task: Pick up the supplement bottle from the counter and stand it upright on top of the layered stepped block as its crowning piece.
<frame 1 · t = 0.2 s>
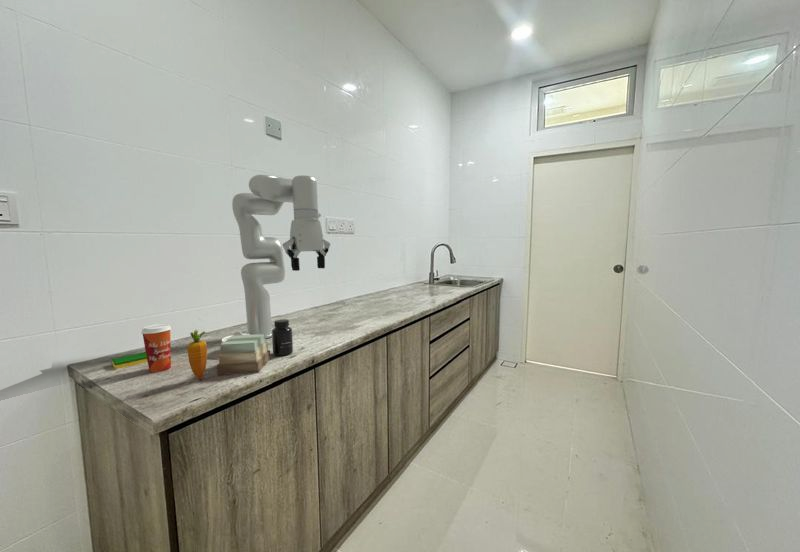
hand: (309, 269, 106), 31 cm above the worktop, tool pointing down, fingers open, 9 cm apart
paper cup: (160, 369, 104), on the worktop
layered stepped block: (245, 366, 105), on the worktop
supplement bottle: (283, 353, 116), on the worktop
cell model: (237, 351, 121), on the worktop
carrot: (200, 380, 95), on the worktop
dish sponge: (140, 362, 112), on the worktop
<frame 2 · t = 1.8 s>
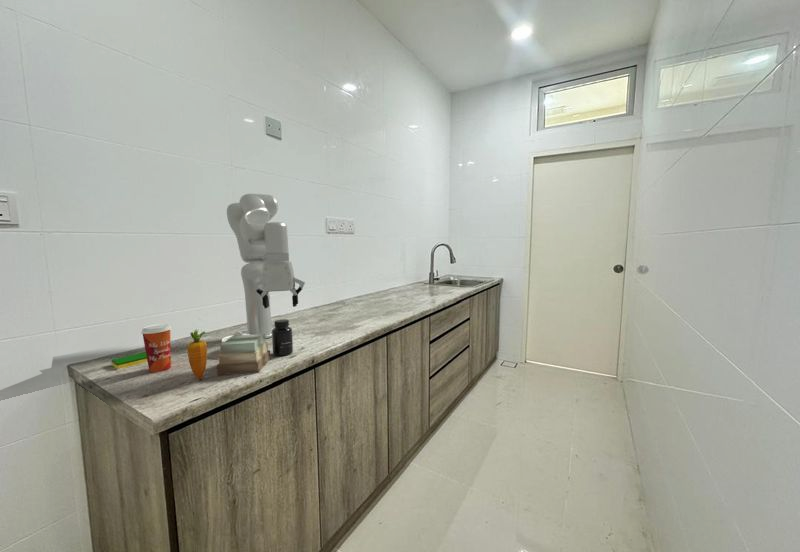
hand: (280, 306, 114), 17 cm above the worktop, tool pointing down, fingers open, 9 cm apart
nothing on the worktop moved.
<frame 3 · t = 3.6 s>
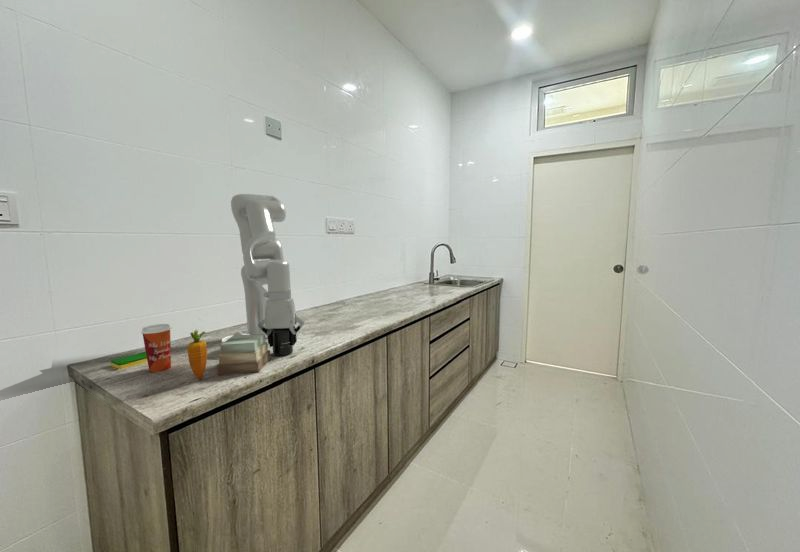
hand: (282, 344, 116), 3 cm above the worktop, tool pointing down, fingers closed on supplement bottle, 6 cm apart
supplement bottle: (283, 353, 116), on the worktop, touching gripper
everything else where it was.
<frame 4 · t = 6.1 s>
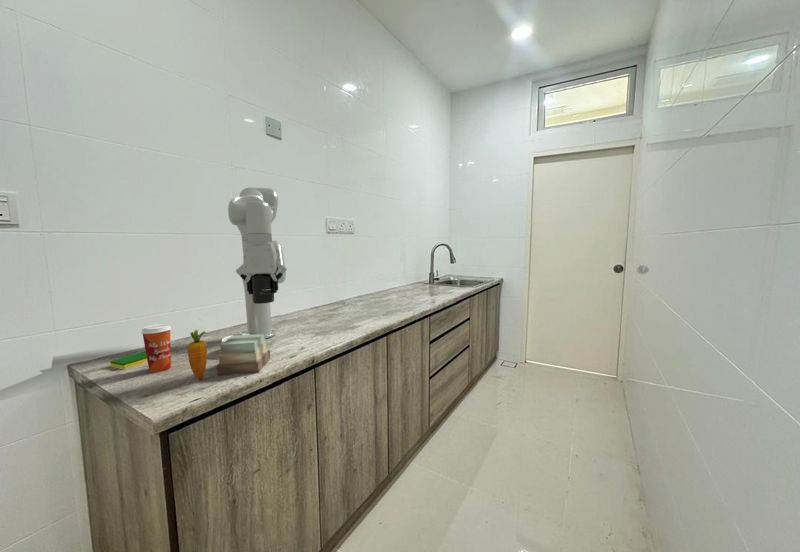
hand: (263, 292, 109), 23 cm above the worktop, tool pointing down, fingers closed on supplement bottle, 6 cm apart
supplement bottle: (263, 302, 109), point 19 cm above the worktop, touching gripper
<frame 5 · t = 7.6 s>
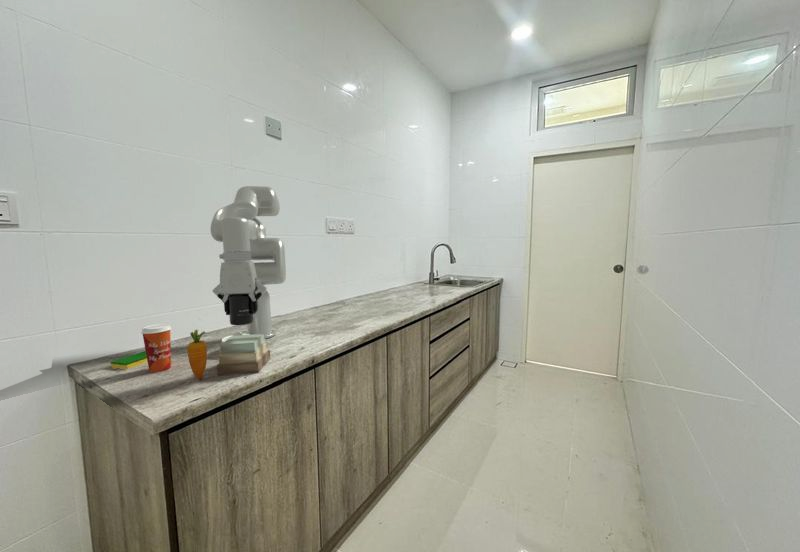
hand: (241, 313, 103), 17 cm above the worktop, tool pointing down, fingers closed on supplement bottle, 6 cm apart
supplement bottle: (242, 323, 103), point 14 cm above the worktop, touching gripper
when the fingers open (14 cm above the worktop, at t = 8.8 s): supplement bottle drops 1 cm, resting on layered stepped block.
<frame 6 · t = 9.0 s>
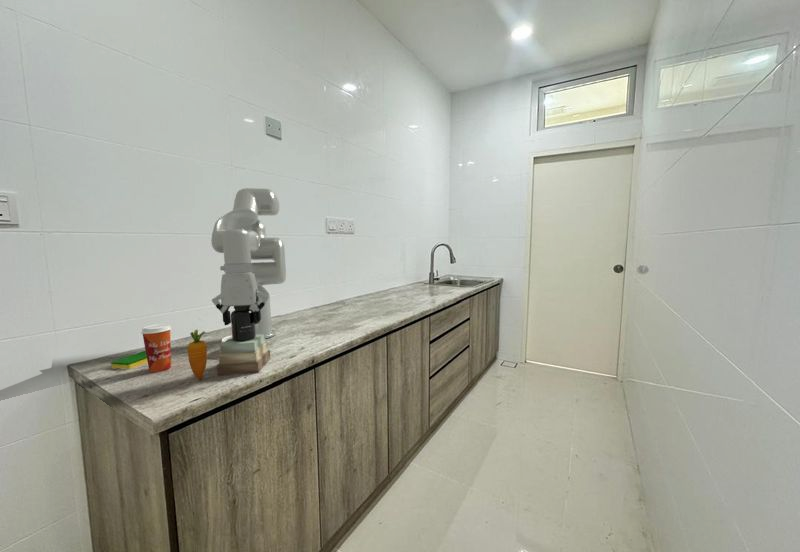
hand: (242, 323, 103), 14 cm above the worktop, tool pointing down, fingers open, 8 cm apart
supplement bottle: (244, 339, 104), point 9 cm above the worktop, touching layered stepped block
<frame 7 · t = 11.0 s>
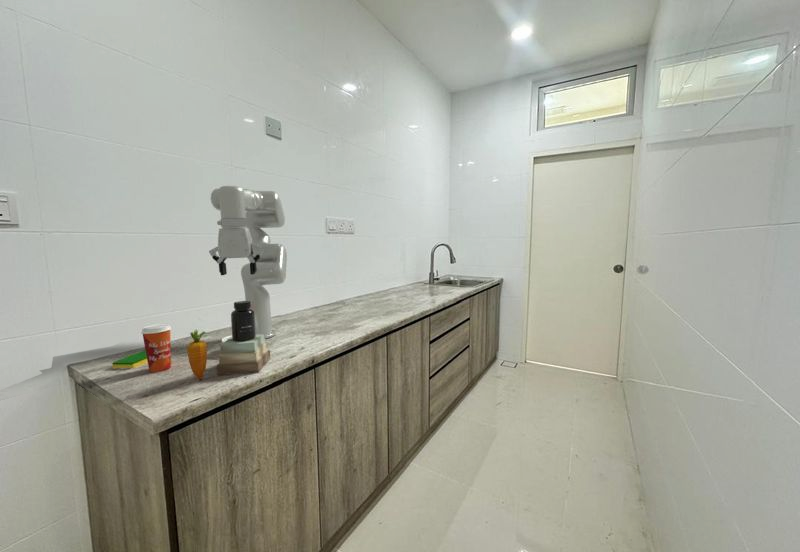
hand: (238, 274, 112), 29 cm above the worktop, tool pointing down, fingers open, 9 cm apart
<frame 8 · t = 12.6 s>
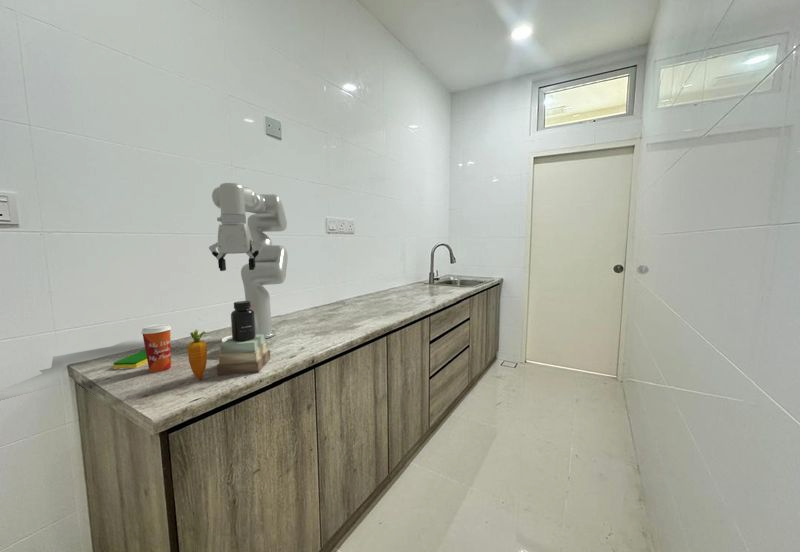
hand: (237, 270, 113), 30 cm above the worktop, tool pointing down, fingers open, 9 cm apart
at the end: supplement bottle inside the target area on the layered stepped block (0.2 cm from its centre), point 8.8 cm above the layered stepped block's base; supplement bottle tilted 0°; the gripper is holding nothing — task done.
